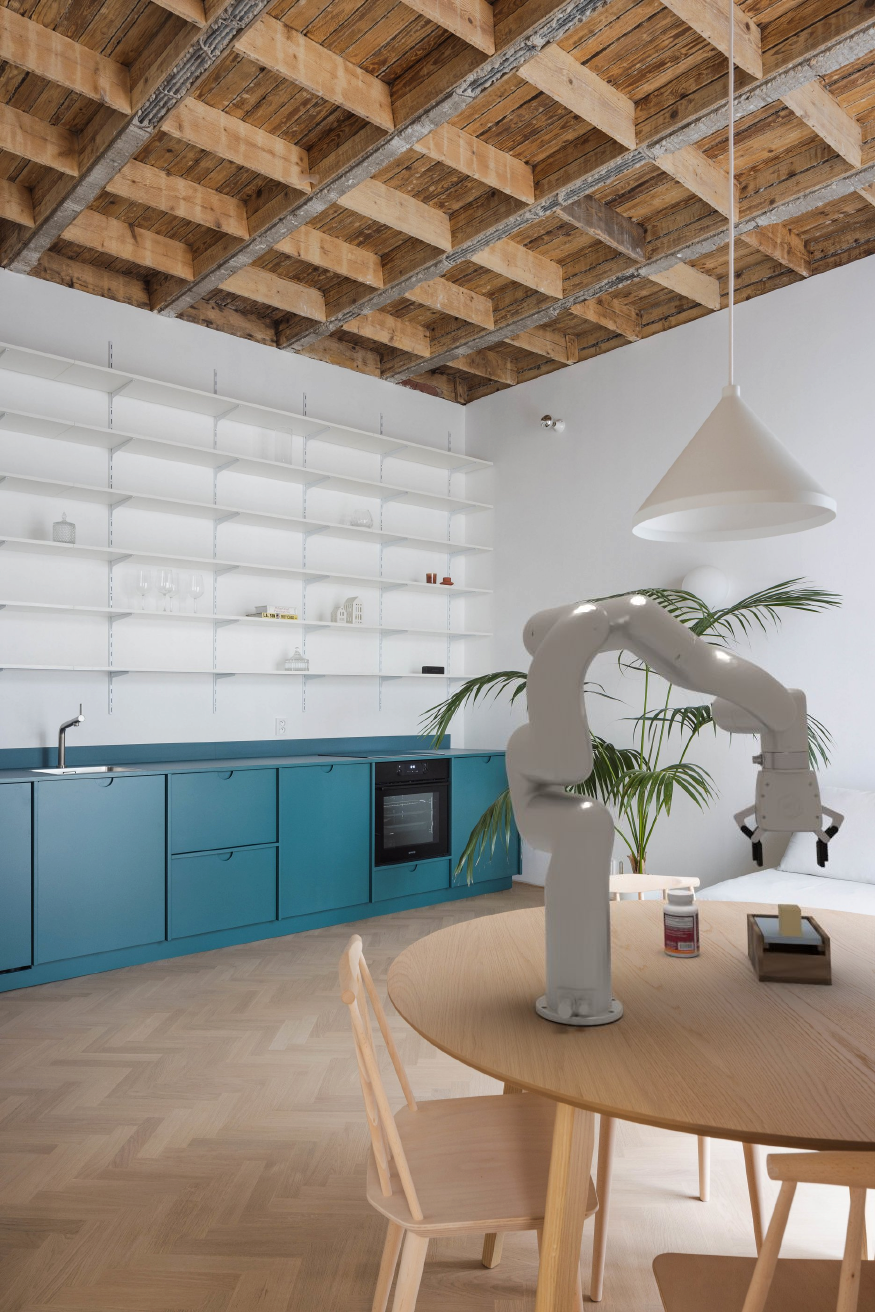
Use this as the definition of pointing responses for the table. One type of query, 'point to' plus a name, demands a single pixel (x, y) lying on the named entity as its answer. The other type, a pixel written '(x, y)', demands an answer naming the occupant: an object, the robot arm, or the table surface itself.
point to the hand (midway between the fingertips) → (790, 865)
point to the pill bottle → (681, 924)
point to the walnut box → (789, 956)
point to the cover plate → (777, 938)
